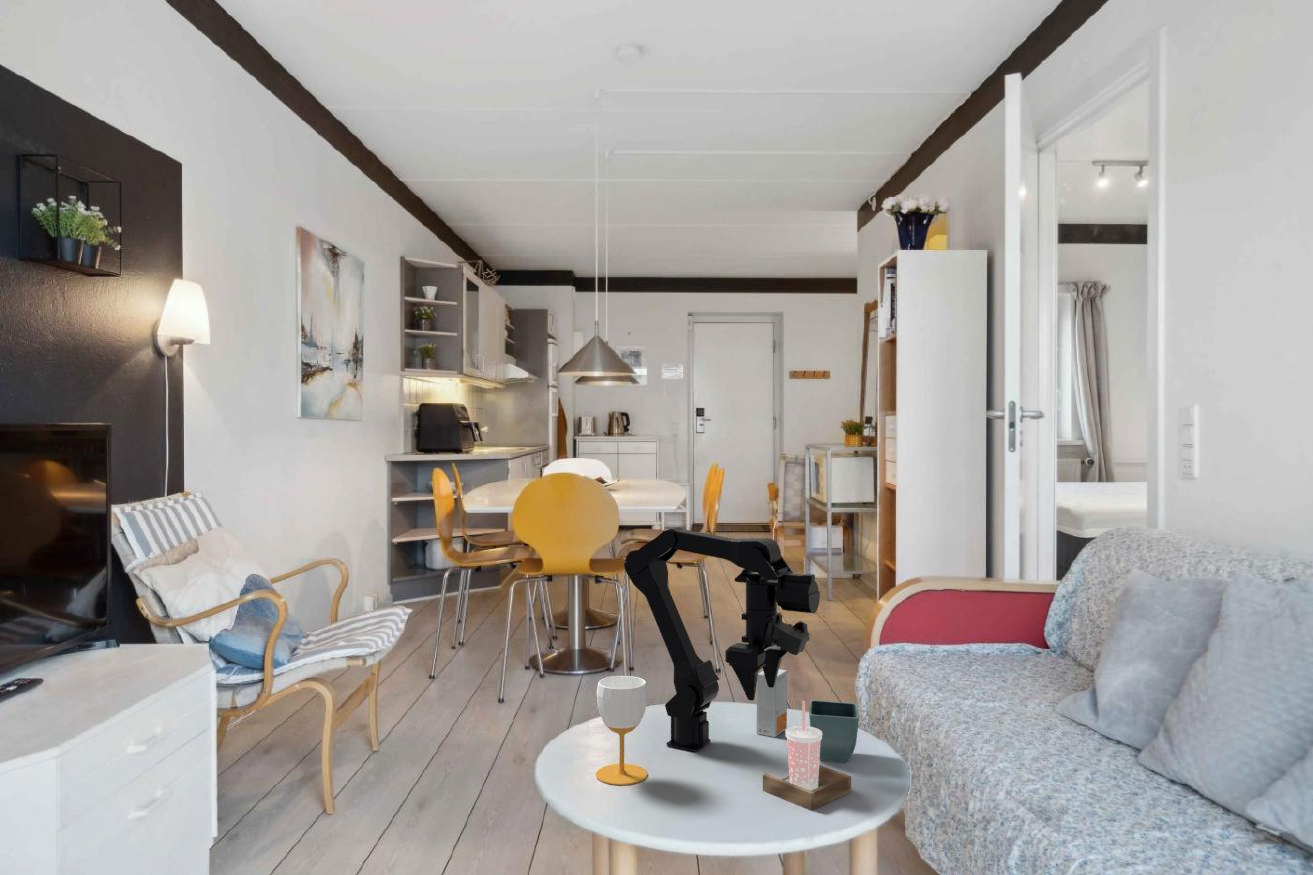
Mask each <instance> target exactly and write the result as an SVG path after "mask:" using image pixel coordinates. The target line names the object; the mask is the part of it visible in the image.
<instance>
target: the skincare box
mask: <svg viewBox="0 0 1313 875" xmlns="http://www.w3.org/2000/svg"><path fill="white" fill-rule="evenodd" d="M787 728H788V670H785V669H780V668H779V670H778V674H777V678H776V681H775V685H774V687H773V688H771V687H768V685H767V682H766V679H765V675H764V671H763V670H762V671H761V672H758V677H757V685H756V732H755V733H756V734H758V735H762V736H767V737H771V738H776V737H778V735H780V734H781V733H783V732H785V730H786V729H787Z"/></svg>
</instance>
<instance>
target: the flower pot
mask: <svg viewBox="0 0 1313 875" xmlns="http://www.w3.org/2000/svg"><path fill="white" fill-rule="evenodd" d="M808 711H809V712H808V715H809V726H810V727H814V728H817V729H819V730H821V731H822V739H821V743H820V760H819V761H828V762H840V763H847V762H848V761H850V759H851V757H852V755H853V753H854V751H855V749H856V746H857V738H858V732H859V721H860V720H859V719H860V715H859V707H858V704H857V703H853V702H840V701H829V700H816V699H815V700H814V699H812V700H809V710H808Z"/></svg>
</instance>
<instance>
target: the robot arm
mask: <svg viewBox="0 0 1313 875" xmlns="http://www.w3.org/2000/svg"><path fill="white" fill-rule="evenodd" d="M678 551H682V552H688V553H692V554H698V555H702V556H707V557H711V558H718V559H721V560H726V561H729V562H730V563H732V564H733V565H735V566H737V567H738V568H741V569H742V570H741V572H740V573H739V574H738V575H737V576H736V577H734V582H735V583H744V584H745V612H743V613H741V620H742V621H743V620H744V621H745V635H742V636H741V642H737V643H735V644H733V645H730V646H729V647H727V649H725V652H724V653H725V654H724V656H725V657H724V658H725V659H724V660H725V662H726V664H727V663H728V665H729V666H730V667H732V670H733V671H734V673H735V675H736V677H737V678H738V682H739V684H740V685H741V687H742V689H743V692H744V694H745V696H746V698H747V701H752V702H753V701H755V698H756V694H757V677H758V674H759V673H760V671H761V670H762V671H764V675H765V679H766V682H767V685H768V687H771V688H773V687H774V685H775V681H776V678H777V674H778V670H779V669H780V666H781V663H782V659H783V658H784V657H785V656H786V655H787V654H790V655H794V656H798V655H799V654H800V653H803V652H804V650H805V648H806V644H807V642H809V641H810V635H811V634H810V632H809V630H808V624H807V623H806V622H804V621H800V620H799V621H797V622H796V623H795V624H794V625H793V624H792V623H789V624H788V623H785V622H783V615H782V612H778V607H780V609H781V610H783V611H784V612H785V611H787V612H796V613H805V614H815V613H817V612H818V609H819V605H820V600H821V598H820V597H821V593H820V592H821V591H819V586H818V583H817V582H816V575H815V574H814V573H807V574H802V573H793V571H792V569H791V567H790V566H789V564H788V563H787V562H786V560H785V559H784V557H783V556H782V550H781V548H780V546H779V545H778V543H777V541H776V540H775V539H773V538H769V537H751V538H748V537H747V538H731V537H728V536H720V535H717V534H710V533H705V532H700V531H694V530H689V529H684V528H682V527H680V526H676V527H670V528H665V529H664V530H662V532H661V533H660V534H658V535H657V536H655V538H653V539H652V540H649V541H648V542H647V543H645V544H644V545H642V546H641V547H640V548H638V549H634V550H631V551H630V552H628V553H627V555H626V556H625V560H624V562H623V568H624V571H625V573H626V574H627V577H628V578H629V579H630V581H631V583H632V585H633V586H634V587H635V588H636V589H638V591H639V592H641V594H642V595H643V596H644V598H645V599H646V601H647V603H648V606H649V608H650V611H651V613H652V615H653V618H654V621H655V624H656V625H657V627H658V631H659V633H660V635H661V638H662V640H663V642H664V644H665V647H666V650H667V652H668V654H669V657H670V659H671V662H672V664H673V686H674V690H675V695H674V696H673V697H671V699H669V700H668V701H667V702H666V703H665V704H664V706H665V711H666V714H667V716H669V717H670V740H668V741H667V742H666V746H667V747H671V748H676V749H680V750H686V751H689V752H694V753H695V752H698V751H699V750H701V749H702V748H703V747H705V746H707V745H708V744H710V743H711V741H712V740H711V739H710V738H709V737H710V722H709V721H708V717H707V714H708V713H707V711H705V710H706V709H709V708H710V706H711V704H712V701H713V700H715V699H716V697H717V696H718V693H719V691H720V686H719V683H718V681H719V680H720V677H719V676H718V675H717V674H716V672H715V669H714V666H713V663H712V661H711V660H710V659H709V660H707V661H703V660H702V659H701V658H700V657H699V656H698V654H697V652H696V650H695V648H694V645H693V643H692V641H691V639H690V636H689V633H688V631H687V629H686V625H685V624H684V623H683V622H684V621H683V619H682V617H681V615H680V613H679V610H678V607H677V605H676V603H675V600H674V598H673V595H672V593H671V592H670V591H671V590H670V589H669V569H668V566H667V562H668V561H670V560H672V558H673V557H674V556H675V555H676V553H677V552H678Z"/></svg>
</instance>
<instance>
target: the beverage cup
mask: <svg viewBox="0 0 1313 875" xmlns="http://www.w3.org/2000/svg"><path fill="white" fill-rule="evenodd" d="M801 707H802V708H801V710H802V711H801V712H802V714H801V717H802V718H801V721H802V723H801V725H793V726H789V727H788V726H787V729H786V730H785V731H784V732H785V738H786V739H787V740H786V743H787V757H788V759H787V760H788V774H789V775H788V776H789V777H790V783H792V784H794V785H797V786H799V787H802V788H804V789H807V790H810V791H811V790H813V789H816V788H818V777H819V765H820V761H821V760H820V743H821V739H822V731H821V730H819V729H817V728H814V727H810V725H806V701H805V700H802V701H801Z"/></svg>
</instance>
